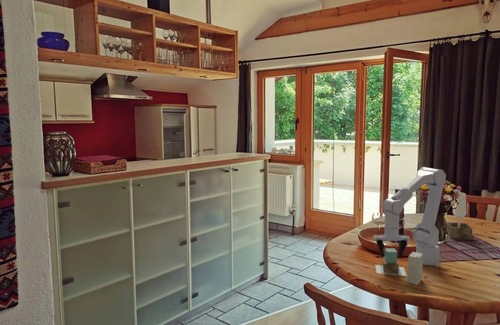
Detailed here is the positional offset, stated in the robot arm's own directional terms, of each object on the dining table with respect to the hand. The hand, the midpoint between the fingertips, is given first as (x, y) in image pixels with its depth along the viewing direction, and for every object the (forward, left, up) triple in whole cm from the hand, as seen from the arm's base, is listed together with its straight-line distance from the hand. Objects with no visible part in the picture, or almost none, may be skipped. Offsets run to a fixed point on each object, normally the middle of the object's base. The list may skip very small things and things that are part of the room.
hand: (390, 256), depth 165 cm
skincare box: (-8, +9, -7) cm, 14 cm away
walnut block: (0, 0, -6) cm, 6 cm away
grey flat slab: (0, 0, -7) cm, 7 cm away
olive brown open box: (-41, -58, -7) cm, 71 cm away
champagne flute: (-41, -58, -7) cm, 71 cm away
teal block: (0, 0, -2) cm, 2 cm away
